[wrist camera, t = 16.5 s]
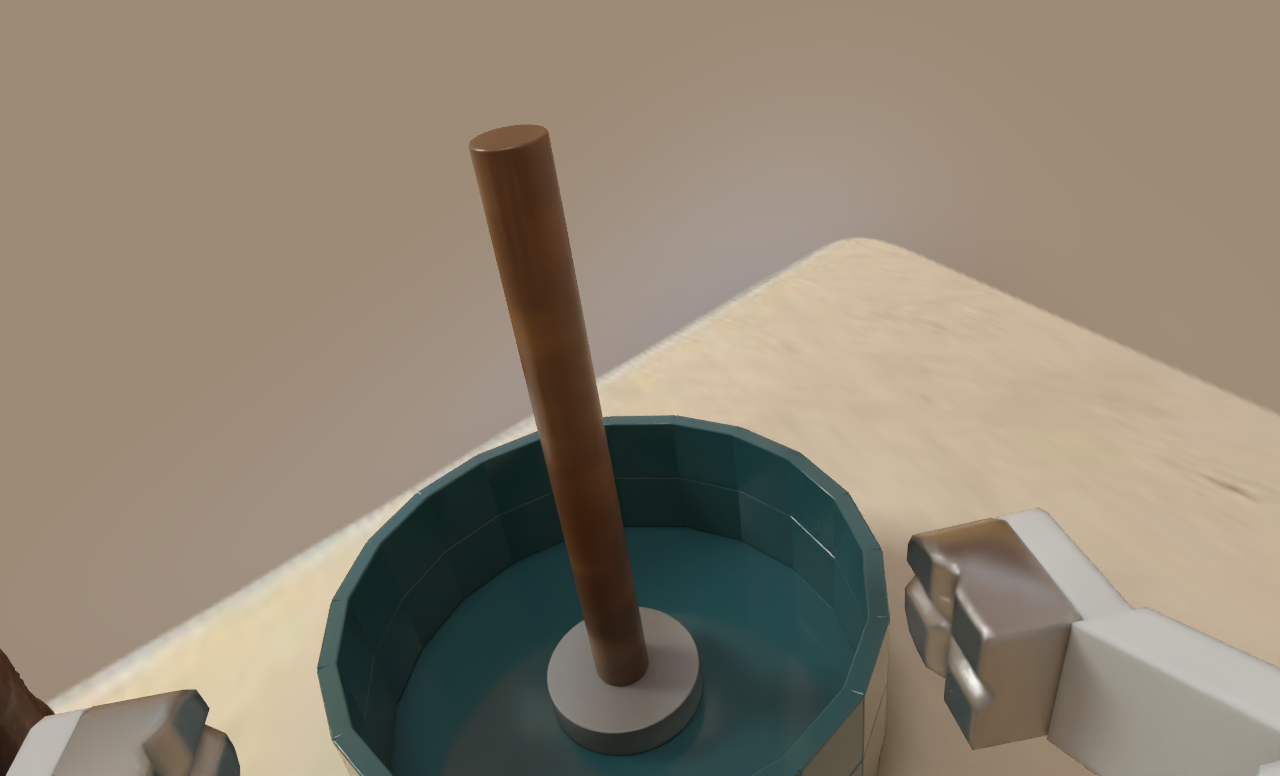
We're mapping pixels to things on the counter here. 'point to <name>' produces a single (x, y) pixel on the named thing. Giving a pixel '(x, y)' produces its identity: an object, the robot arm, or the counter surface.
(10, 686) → the sauce bottle
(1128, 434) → the counter surface
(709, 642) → the bowl
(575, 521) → the wooden dowel stand
